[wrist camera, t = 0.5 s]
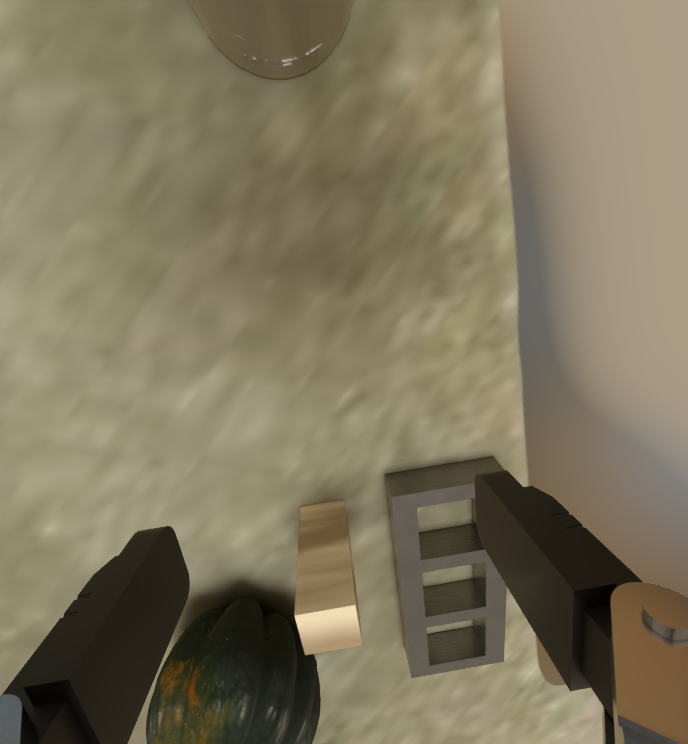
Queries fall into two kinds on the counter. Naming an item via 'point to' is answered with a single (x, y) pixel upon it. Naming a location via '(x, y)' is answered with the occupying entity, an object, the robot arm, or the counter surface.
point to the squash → (236, 682)
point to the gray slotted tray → (443, 551)
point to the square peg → (326, 580)
